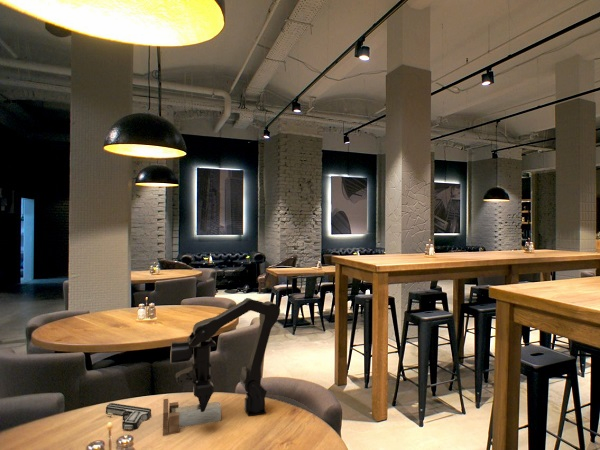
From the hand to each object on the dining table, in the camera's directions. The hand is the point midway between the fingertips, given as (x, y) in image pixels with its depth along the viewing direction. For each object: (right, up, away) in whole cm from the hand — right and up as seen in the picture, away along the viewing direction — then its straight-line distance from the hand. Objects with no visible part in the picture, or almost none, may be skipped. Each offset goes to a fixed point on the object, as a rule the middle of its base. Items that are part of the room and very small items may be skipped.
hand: (201, 405), depth 127 cm
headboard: (-8, -5, -3) cm, 10 cm away
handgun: (-28, -6, +1) cm, 28 cm away
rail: (-2, -5, -1) cm, 5 cm away
